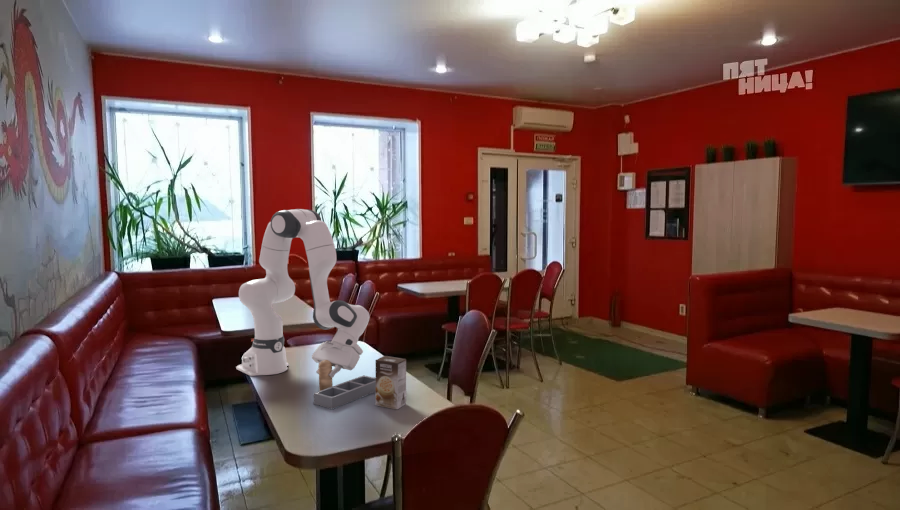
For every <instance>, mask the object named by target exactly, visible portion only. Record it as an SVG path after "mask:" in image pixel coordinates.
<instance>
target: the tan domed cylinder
mask: <svg viewBox="0 0 900 510" xmlns="http://www.w3.org/2000/svg"><path fill="white" fill-rule="evenodd" d="M318 365H319V374H318V390H319V391H321V390H324V389H327V388H330V387H332V386H333V378H332V377H329V376H328V373H329V372H330V371H332V370H333V366H332V364H331V362H330V361H328V360H323V361H321V362H320V364H319V363H318Z"/></svg>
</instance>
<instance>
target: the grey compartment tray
mask: <svg viewBox="0 0 900 510" xmlns="http://www.w3.org/2000/svg"><path fill="white" fill-rule="evenodd" d="M373 393H376V377H374V376H368V375H361V376H358V377H355V378H352V379H349V380H346V381H344V382H341V383H338V384H335V385H332V387H330V388H327V389H324V390H321V391H315V392H313V405H316V406H319V405H320V407H322V406H323V408H326V409H329V408H330V409H329V410H334V409H336V407H337V408H338V406H339V407H341V406H343V405H344V406H345V405H346V404H349V403H351V402H354V401H356V400H359V399H360V398H361V399H362V398H364V397H366V396H368V395H371V394H373ZM333 408H334V409H333Z"/></svg>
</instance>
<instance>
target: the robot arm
mask: <svg viewBox="0 0 900 510" xmlns="http://www.w3.org/2000/svg"><path fill="white" fill-rule="evenodd" d="M264 231H265V232H264V234H263V238H262V243H261V249H260V253H259V254H260V255H259V259H258V263H259V265H260V266H261V268H263V269H264V270H265V274H266V275H265V277H264V278H258V279H252V280H249V281H246V282H244V283H242V284H241V285H240V287H239V290H238V298H239V301H240V302H241V304H242V305H244V306H245V307H246V308H247V309H248V310H249V312H250V313H251V316H252V318H253V325H254V338H252V339H251V342H252V345H251V347H250V348H249V349H248V350H246V352H244V353H243V355H242V357H241V358H242V359H241V364H238V365H237V366H235V368H236V370H238V371H240V372H242V373H243V374H246V375H248V376H249V377H255V376H270V375H278V374H281V373H284V372H286V371H287V370H288V367H289V366H290V364H289V362H288V359H287V351H286V347H285V346H284V345H285V336H284V334H283V331H284V330H283V327H284V325H283V318H282V316H281V315H280V314H278V313H277V312H275V310H274V307H273V304H279V303H283V302H285V301H287V300H289V299H291V298H292V297H294V295H295V292H296V286H295V285H296V284H295V282H294V280H293V279H292V278H291V277H290V276H289V271H288V264H289V257H290V250H291V245H292V242H293V241H292V240H293V239H295V238H300V239H301V240H302V241H303V245H304V249H305V254H306V257H307V262H308V263H307V264H308V271H309V273H308V274H309V283H310V290H311V295H312V299H313V312H312V319H313V322H314V325H315V326H316V327H318V328H319V329H322V330H331V329H333V328H337V331H336V333H335V334H334V336H333V338H332V339H331V341H330V340H326V341H323V342H321V344H320V345H318V347H317V348H316V349H315V350H314V351H313V353H312V355H311V359H312V361H314V362H315V363H316V364H318V368H317V369H316V374H317V375H319V364H320V362H321V361H323V360H328V361H330V362H331V364H332V367H333V368H332V371H330V372H329V373H328V376H329V377H332V379H333V378H334V377H335V375H336V374H337V373H338V372H340V371H341V369H343V370H347V371H352V370H354V369H355V367H356V365H357V364H358V362H359V360H360V358H361V355H362V354H363V353H364V350H363V349H362V347H361V346H360V345H359V344H358V342H359V339H360V337H361V336H362V335H363V333H364V332H365V330H366V328H367V326H368V324H369V322H370V312H369V311H368V310H367V309H366V308H365V307H364V306H362V305H359V304H356V305H355V304H350V303H348V302H346V301H344V300H341V299H340V300H339V299H338V300H333V301H331V300H330V294H329V289H328V278H329V276H330V273H331V271H332V269H333V268H334V267H335V265H336V263H337V251H336V246H335V243H334V240H333V236H332V233H331V231H330V229H329V227H328V225H327V223H325V221H323V220H322V218H321V215H320V214H319V213H318V212H317V211H314V210H312V209H304V208H295V209H283V210H279V211H276V212H275V213H274V214H273V215H272V217H271V219H270V221H269V222H268V223H267V226H266V229H265V230H264ZM287 366H288V367H287Z"/></svg>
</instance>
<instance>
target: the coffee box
mask: <svg viewBox="0 0 900 510" xmlns="http://www.w3.org/2000/svg"><path fill="white" fill-rule="evenodd" d="M375 378H376V392H375V406H378V407H382V408H386V409H387V408H388V409H392V410H399V409H400V408H402V407H403V406H405V405H406V404H407V359H406V358H402V357H397V356H396V357H394V356H388V355H383V356H381V357H379V358H377V359H375Z"/></svg>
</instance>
